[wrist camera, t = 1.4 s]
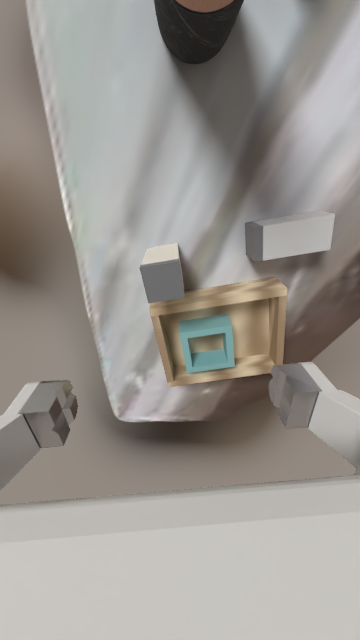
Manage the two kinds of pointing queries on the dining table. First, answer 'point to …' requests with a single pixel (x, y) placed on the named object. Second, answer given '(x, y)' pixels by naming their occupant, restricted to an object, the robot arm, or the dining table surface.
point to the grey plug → (289, 235)
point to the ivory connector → (162, 273)
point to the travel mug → (196, 26)
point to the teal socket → (207, 358)
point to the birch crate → (248, 333)
